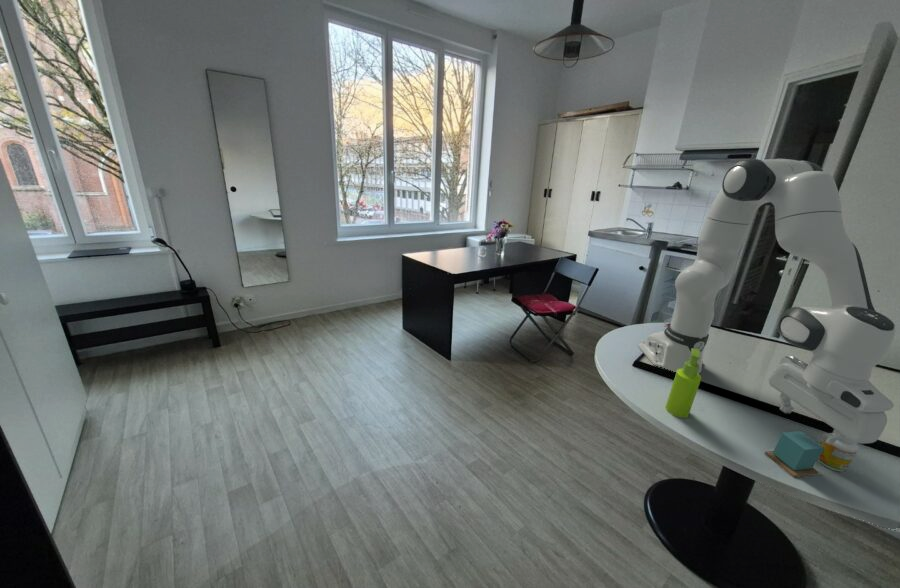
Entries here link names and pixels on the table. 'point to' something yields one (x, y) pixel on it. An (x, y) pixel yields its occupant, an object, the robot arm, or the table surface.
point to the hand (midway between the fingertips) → (804, 425)
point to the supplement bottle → (838, 454)
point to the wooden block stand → (789, 470)
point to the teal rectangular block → (798, 450)
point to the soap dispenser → (684, 387)
